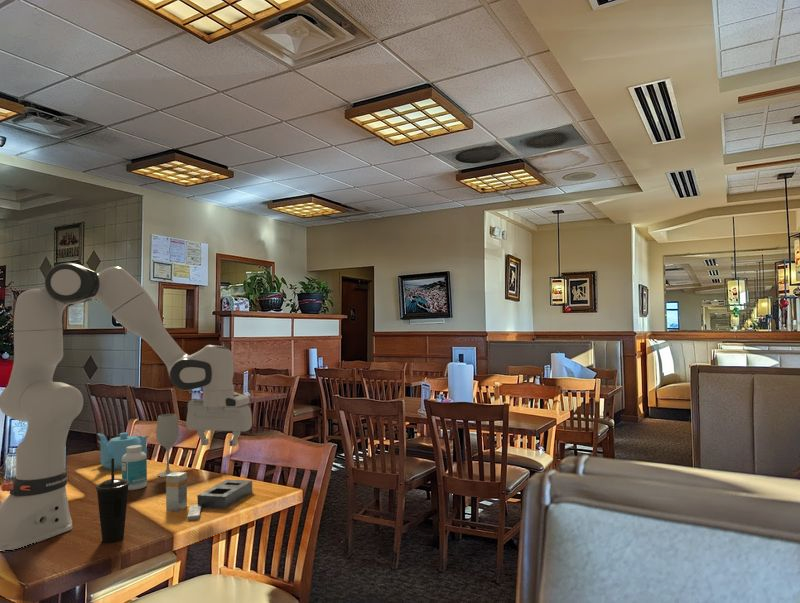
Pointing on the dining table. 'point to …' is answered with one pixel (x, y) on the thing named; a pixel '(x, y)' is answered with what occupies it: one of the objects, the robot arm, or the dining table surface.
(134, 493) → the dining table surface
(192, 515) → the light grey bar
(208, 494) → the socket block
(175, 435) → the wineglass
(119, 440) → the teapot
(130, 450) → the pill bottle
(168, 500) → the small grey carton
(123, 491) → the drinking cup
